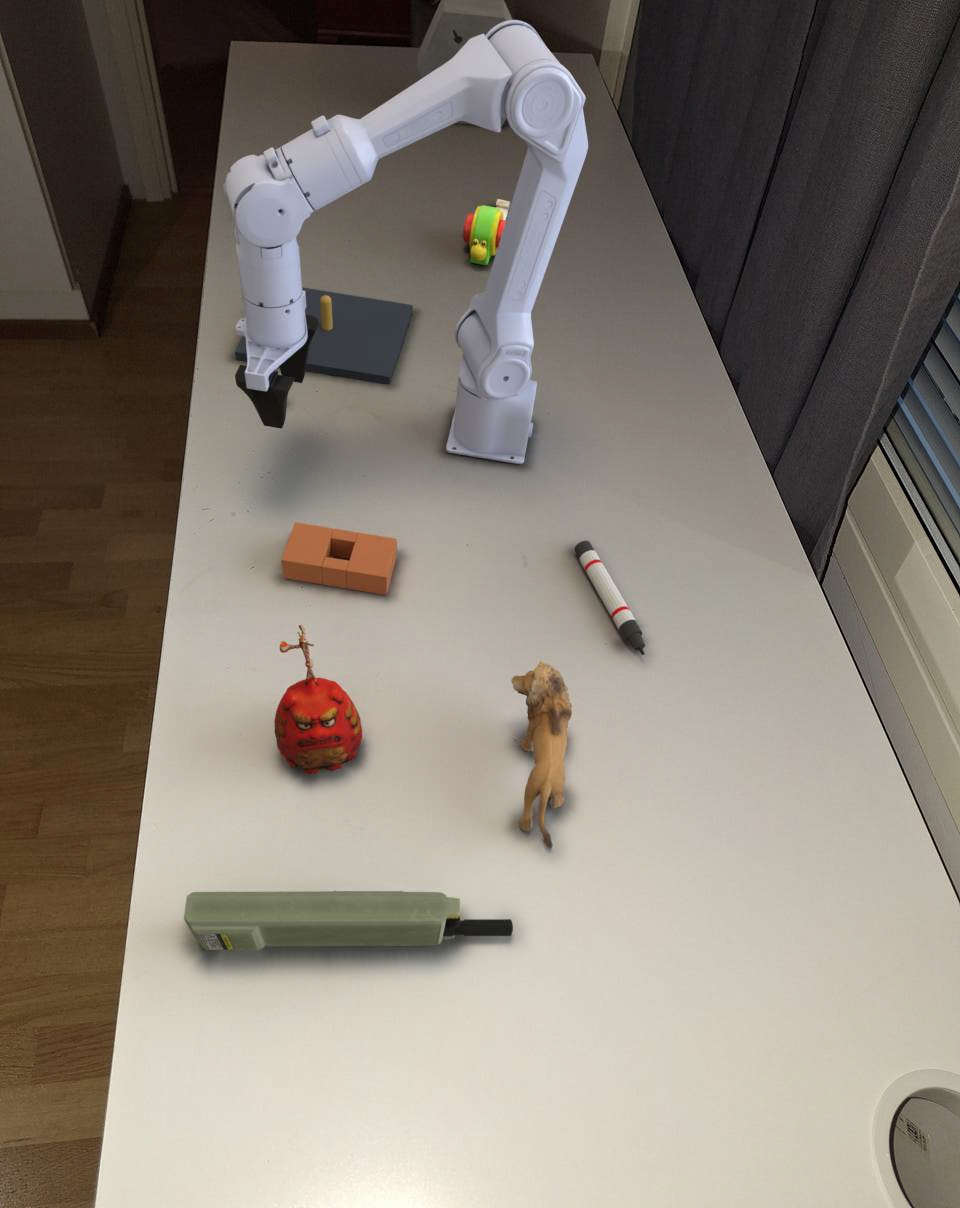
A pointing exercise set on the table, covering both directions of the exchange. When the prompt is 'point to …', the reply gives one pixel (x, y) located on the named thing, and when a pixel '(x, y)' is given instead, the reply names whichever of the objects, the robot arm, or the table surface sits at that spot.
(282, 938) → the handheld radio
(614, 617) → the marker
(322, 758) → the red clay folk toy
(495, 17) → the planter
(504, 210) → the toy measuring tape
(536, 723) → the lion figurine
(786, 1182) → the table surface
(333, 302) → the dark gray base plate
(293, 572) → the orange brown rectangular block
